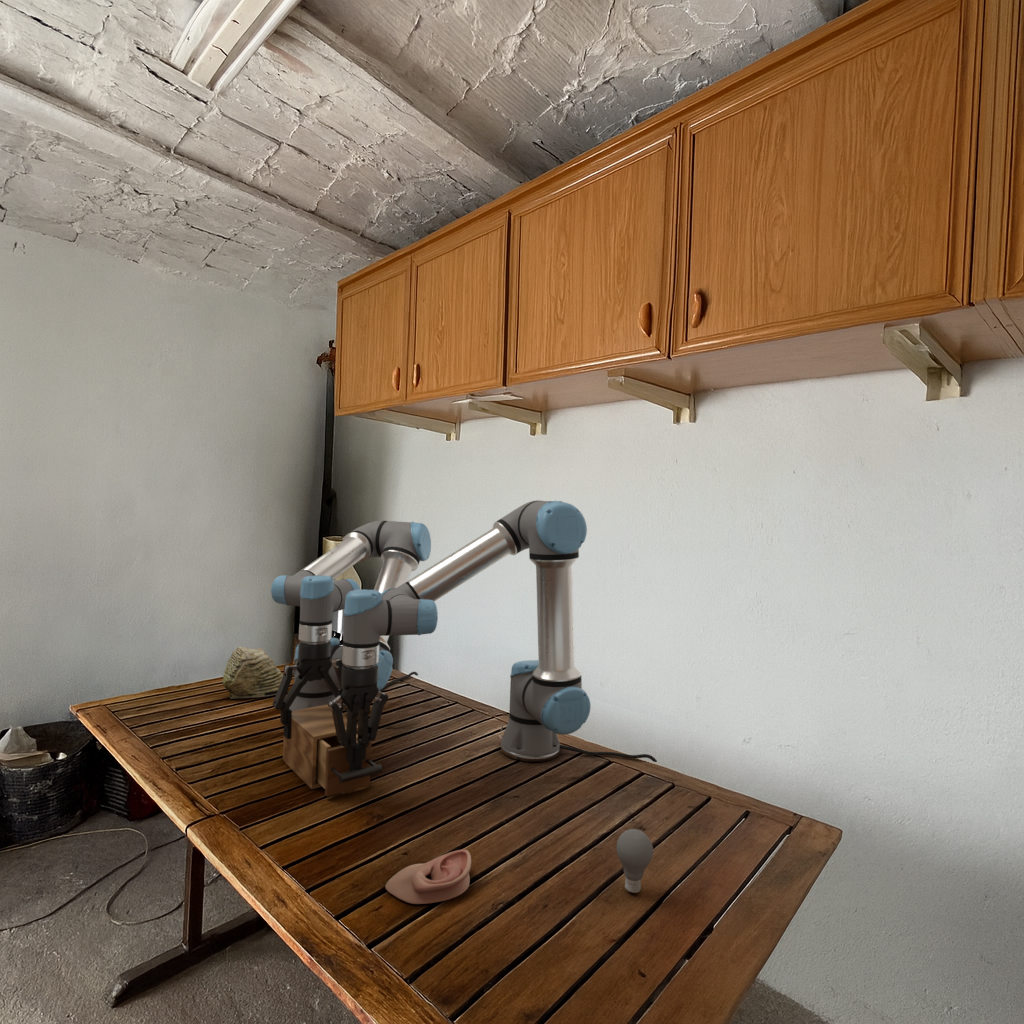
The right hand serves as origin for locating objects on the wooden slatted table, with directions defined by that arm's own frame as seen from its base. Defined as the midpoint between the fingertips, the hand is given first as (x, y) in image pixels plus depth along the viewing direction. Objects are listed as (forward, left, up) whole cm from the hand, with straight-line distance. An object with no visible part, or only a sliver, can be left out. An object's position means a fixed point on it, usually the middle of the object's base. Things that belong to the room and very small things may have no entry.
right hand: (355, 776), depth 133 cm
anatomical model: (-10, +33, -5) cm, 34 cm away
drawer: (+3, -8, -4) cm, 9 cm away
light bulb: (-42, +42, -5) cm, 60 cm away
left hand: (+9, -23, +2) cm, 24 cm away
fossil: (+25, -76, -5) cm, 81 cm away
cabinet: (+7, -17, -5) cm, 19 cm away
